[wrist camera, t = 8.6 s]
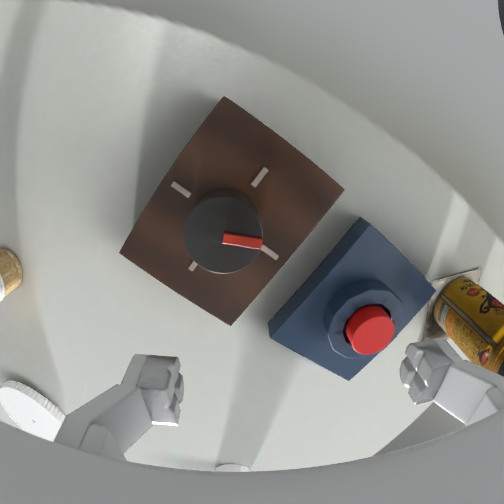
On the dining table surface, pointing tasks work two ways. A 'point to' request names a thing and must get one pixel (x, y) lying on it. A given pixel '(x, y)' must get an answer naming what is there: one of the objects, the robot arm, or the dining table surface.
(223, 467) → the capsule
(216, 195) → the dial
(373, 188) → the dining table surface
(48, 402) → the plastic lid
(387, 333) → the button
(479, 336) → the condiment
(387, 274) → the button housing
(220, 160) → the dial panel
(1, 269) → the sprinkles bottle
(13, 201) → the dining table surface
